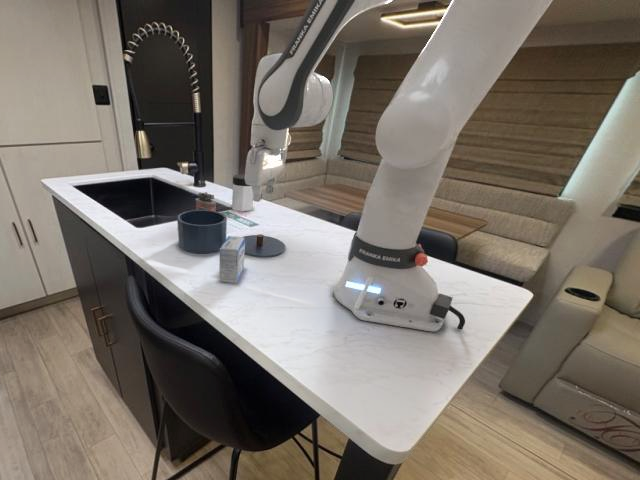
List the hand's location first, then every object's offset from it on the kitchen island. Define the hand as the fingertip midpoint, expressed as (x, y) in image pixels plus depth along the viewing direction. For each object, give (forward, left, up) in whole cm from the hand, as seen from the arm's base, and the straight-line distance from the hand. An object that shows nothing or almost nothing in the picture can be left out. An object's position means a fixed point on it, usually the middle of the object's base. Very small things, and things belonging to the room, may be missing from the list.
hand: (263, 196), depth 82 cm
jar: (+20, -33, -15) cm, 41 cm away
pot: (+15, +7, -15) cm, 22 cm away
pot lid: (0, 0, -14) cm, 14 cm away
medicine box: (0, +19, -15) cm, 24 cm away
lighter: (+24, -11, -15) cm, 30 cm away
